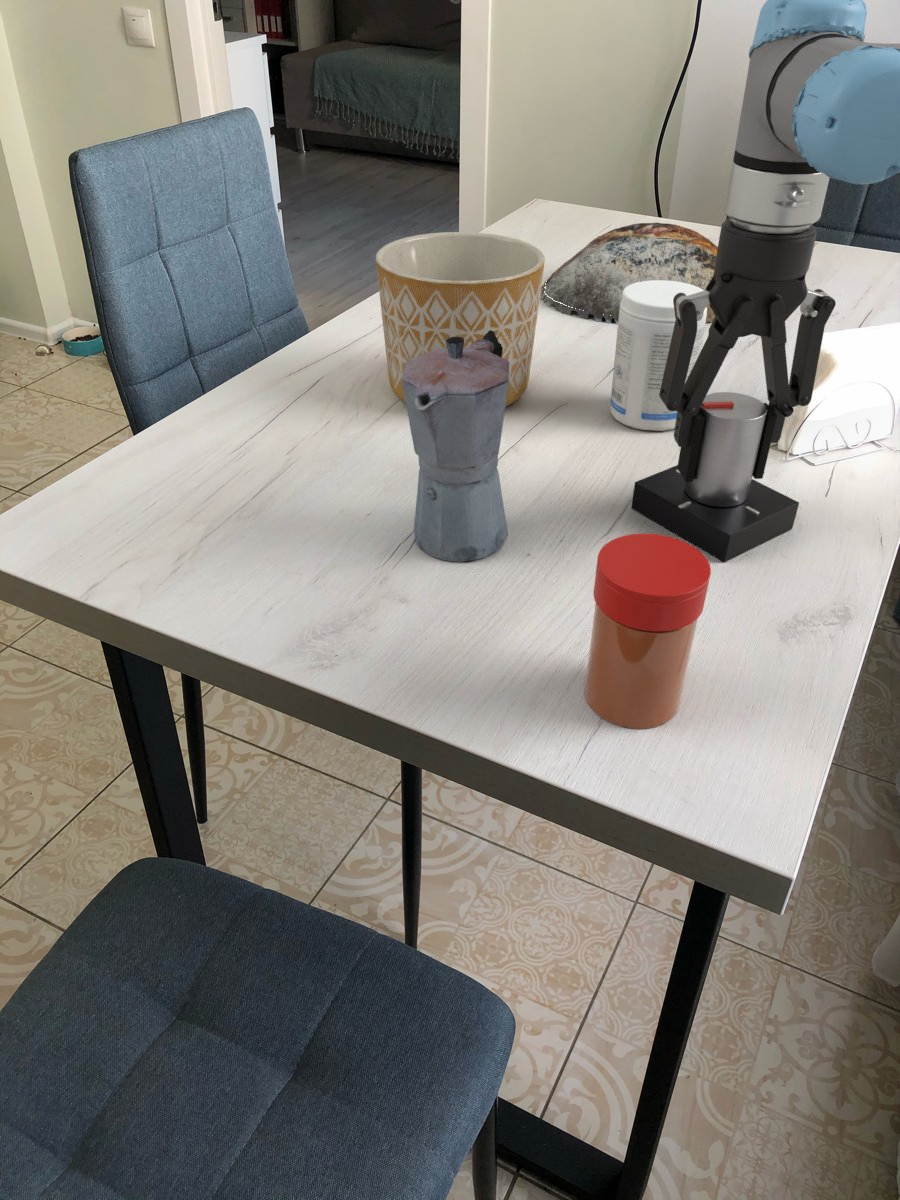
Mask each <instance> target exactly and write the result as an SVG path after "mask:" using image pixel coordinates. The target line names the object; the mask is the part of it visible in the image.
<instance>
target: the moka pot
mask: <svg viewBox="0 0 900 1200" xmlns="http://www.w3.org/2000/svg"><path fill="white" fill-rule="evenodd" d="M446 345H447V348H439V349H435V350H433V351H430V352H428V353H425V354H422V355H420V356H417V357H414V358H411V359H409V360H408V361H407V362H406V366H405V370H404V373H403V376H402V386H403V391H404V396H405V401H406V403H405V408H406V412H407V417H408V422H409V429H410V433H411V438H412V439H411V440H412V445H413V450H414V453H415V455H417V456H418V457H417V458H418V467H419V470H418V478H417V490H416V501H415V511H414V522H413V523H414V524H413V534H414V540H415V542H416V544H417V547H418V548H419V549H420V550H422V551H423V552H424V553H426V555H429V556H431V557H433V558H435V559H438V560H442V561H447V562H457V563H458V562H472V561H473V562H474V561H476V560H480V559H484V558H486V557H489V556H491V555H492V554H495V553H496V552H497V551H499V549H500V548H502V546H503V544H504V543H505V542H506V541H507V537H508V535H509V533H508V523H507V519H506V513H505V506H504V500H503V499H504V498H503V494H502V487H501V481H500V480H501V478H500V473H499V469H498V465H499V453H500V447H501V440H502V433H503V426H504V419H505V413H506V412H505V411H506V407H505V405H506V397H507V390H508V384H509V361H508V360H506V359H504V358H502V351H503V347H502V345H501V344H500V343H499V342H498V339H497V337H496V336H495V332H494V331H491V330H489V331H488V333H486V334H485V336H484V337H483V339H482V340H476V341H475V342H474V343H472V344H471V345H470V347H468V348H463V345H464V339H463V338H462V337H450V338H448V339H447V340H446Z"/></svg>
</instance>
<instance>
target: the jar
mask: <svg viewBox="0 0 900 1200" xmlns="http://www.w3.org/2000/svg"><path fill="white" fill-rule="evenodd" d="M594 604H595V605H594V611H593V621H592V628H591V637H590V642H589V643H590V644H589V653H588V662H587V667H586V677H585V685H584V698H585V700H586V702H587V705H588V706H589V708H590V709H591V710H592V711H593V713H595V714H596V715H597V716H599V718H601V719H603V720H604V721H607V722H609V723H611V724H613V725H616V726H619V727H623V728H628V729H635V730H644V729H645V730H646V729H651V728H656V727H659V726H662V725H664V724H666V723H668V722H669V721H671V720H672V719H673V718H674V717H675V716H676V715H677V713H678V712H679V709H680V705H681V701H682V696H683V691H684V686H685V681H686V676H687V671H688V667H689V661H690V657H691V653H692V649H693V648H692V647H693V642H694V638H695V633H696V629H697V624H698V619H697V620H696V621H694V622H693V623H691V624H690V625H688V626H686V627H683V628H680V629H677V630H671V631H658V632H656V631H645V630H639V629H634V628H631V627H628V626H625V625H623V624H620V623H618V622H616V621H614V620H613V619H611V618H609V617H608V616H607V615H606V614H604V613H603V612H602V611H601V610H600V608H599V607H598V606H597V604H596V602H595V603H594Z"/></svg>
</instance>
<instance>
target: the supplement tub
mask: <svg viewBox="0 0 900 1200" xmlns="http://www.w3.org/2000/svg"><path fill="white" fill-rule="evenodd" d="M701 291H704V290H702V289H701V288H699V287H696V286H694V285H691V284H687V283H682V282H676V281H666V280H651V281H642V282H637V283H633V284H631V285H629V286H627V287H626V288H624V290H623V293H622V300H621V302H620V309H619V319H618V324H617V328H616V329H617V330H616V341H615V349H614V351H615V352H614V359H613V360H614V362H613V372H612V383H611V394H610V402H609V403H610V405H609V409H610V413H611V415H612V417H613V418H614V419H615V420H616V421H618V422H619V423H621V424H623V425H624V426H627V427H629V428H633V429H636V430H642V431H655V432H660V431H661V432H662V431H670V430H675V423H676V417H677V411H669V410H668V409H667V407H666V406H665V404H664V403H663V401H662V400H661V398H660V396H659V393H660V389H661V384H662V379H663V375H664V370H665V366H666V361H667V357H668V352H669V348H670V343H671V339H672V334H673V330H674V325H675V320H676V319H675V311H674V304H673V299H674V296H675V295H676V294H678V293H684V294H685V295H686V296H688V295H692V294H695V293H698V292H701ZM706 316H707V307H706V308H705V309H704V312H703V316H702V319H701V320H700V321H697V334H696V338H695V343H694V347H693V351H692V355H691V360H690V364H689V368H688V372H687V377H686V381H687V379H688V376H689V374H690V372H691V370H692V368H693V366H694V364H695V362H696V360H697V358H698V356H699V354H700V352H701V350H702V348H703V341H704V336H705V328H706V324H707V323H706ZM705 323H706V324H705ZM686 381H685V383H686Z"/></svg>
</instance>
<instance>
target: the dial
mask: <svg viewBox="0 0 900 1200" xmlns="http://www.w3.org/2000/svg"><path fill="white" fill-rule="evenodd" d="M764 403H765V402H763V401H761V400H760V399H758V398H756V397H753V396H751V395H747V394H744V393H739V392H731V391H722V392H721V391H720V392H713V393H709V394H707V395H706V397H705V399H704V401H703V403H702V405H701V407H700V409H699V410H700V412H701V413H702V415H703V416H704V417H705V421H704V426H703V432H702V437H701V442H700V448H699V453H698V459H697V464H696V470H695V475H694V481H693V482H685V492H686V493H687V495H688V496H689V497H691V498H692V499H693V500H695V501H697V502H699V503H702V504H705V505H709V506H715V507H732V506H736V505H739V504H741V503H743V502H744V501H745V500H746V499H747V497H748V493H749V488H750V484H751V480H752V479H753V476H752V475H753V471H754V466H755V462H756V457H757V453H758V449H759V444H760V440H761V435H762V431H763V426H764V422H765V418H766V413H767V408H766V406H765V404H764Z"/></svg>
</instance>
